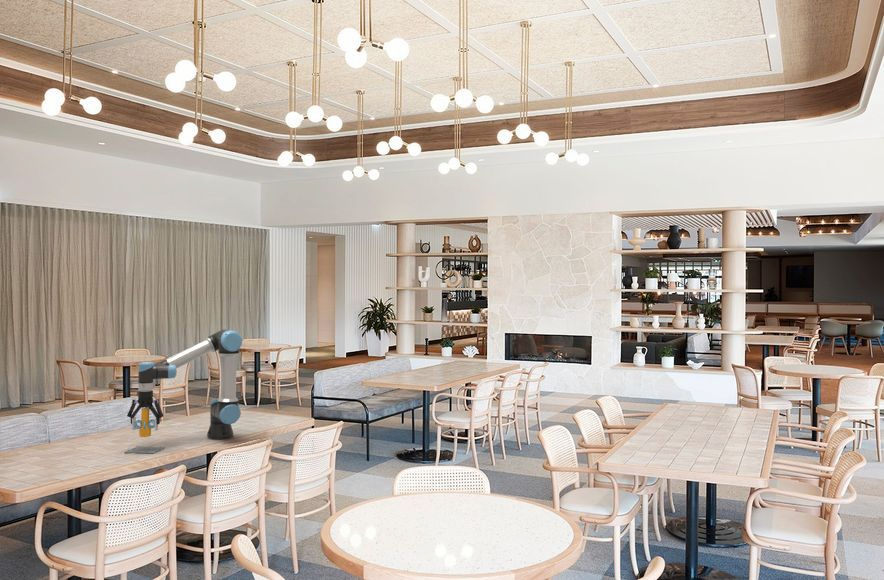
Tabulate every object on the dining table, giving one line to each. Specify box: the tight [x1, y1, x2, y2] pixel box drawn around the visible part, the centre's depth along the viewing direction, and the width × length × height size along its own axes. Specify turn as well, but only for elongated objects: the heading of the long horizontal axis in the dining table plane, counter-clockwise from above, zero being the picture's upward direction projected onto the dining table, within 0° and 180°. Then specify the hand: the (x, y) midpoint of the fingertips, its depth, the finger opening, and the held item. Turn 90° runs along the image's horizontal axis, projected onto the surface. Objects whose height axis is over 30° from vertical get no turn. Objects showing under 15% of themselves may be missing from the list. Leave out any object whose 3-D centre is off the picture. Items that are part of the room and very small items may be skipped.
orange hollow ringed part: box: [134, 407, 155, 438], centre depth 385 cm, size 12×10×15 cm
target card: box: [124, 445, 166, 455], centre depth 385 cm, size 16×14×1 cm
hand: (145, 430), depth 385 cm, fingers closed on orange hollow ringed part, 12 cm apart
